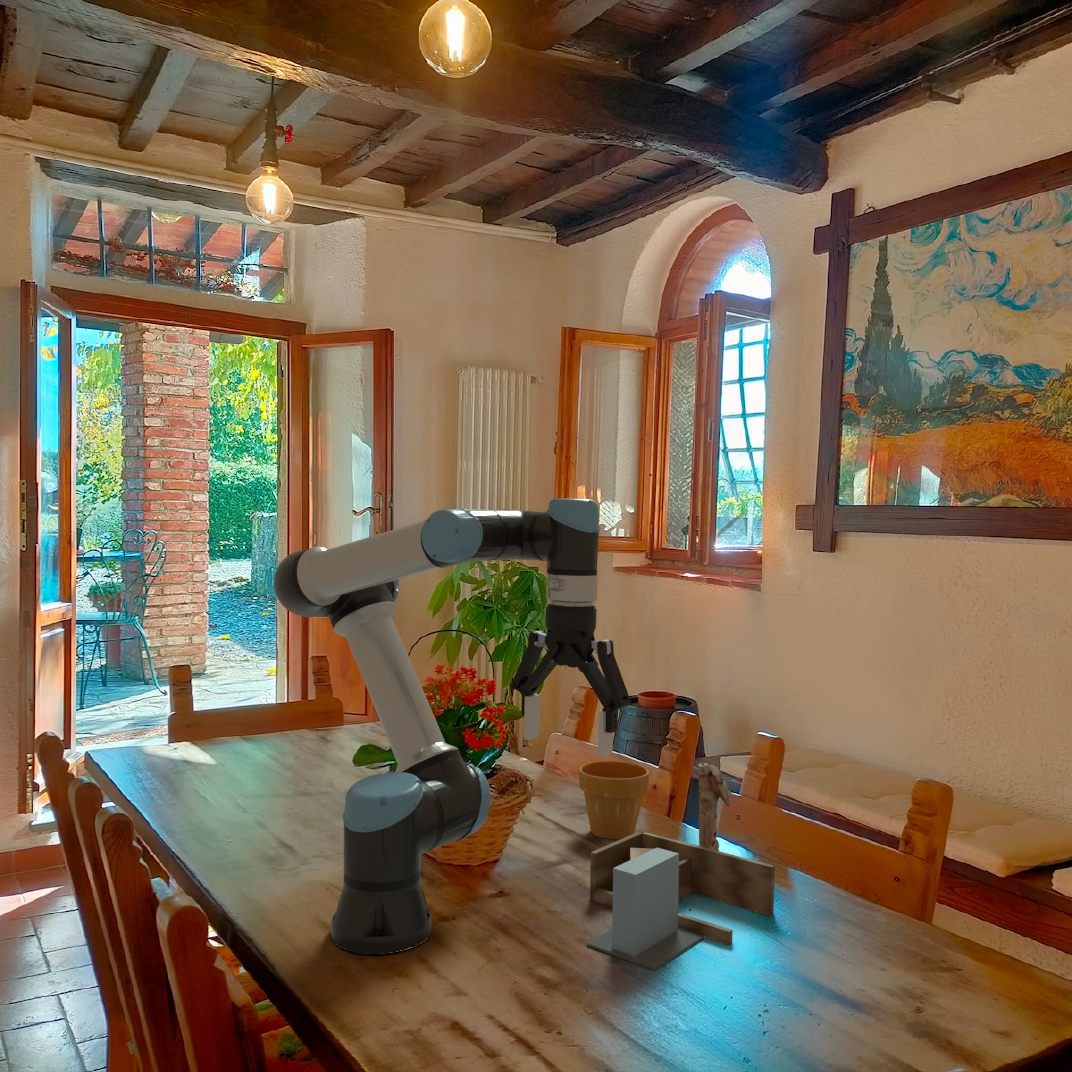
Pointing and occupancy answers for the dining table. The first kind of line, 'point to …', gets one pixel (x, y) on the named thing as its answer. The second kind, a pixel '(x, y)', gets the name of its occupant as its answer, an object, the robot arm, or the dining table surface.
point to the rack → (692, 878)
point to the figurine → (710, 803)
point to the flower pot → (613, 796)
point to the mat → (651, 948)
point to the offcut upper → (638, 852)
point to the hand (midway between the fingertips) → (567, 746)
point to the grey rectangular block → (645, 901)
